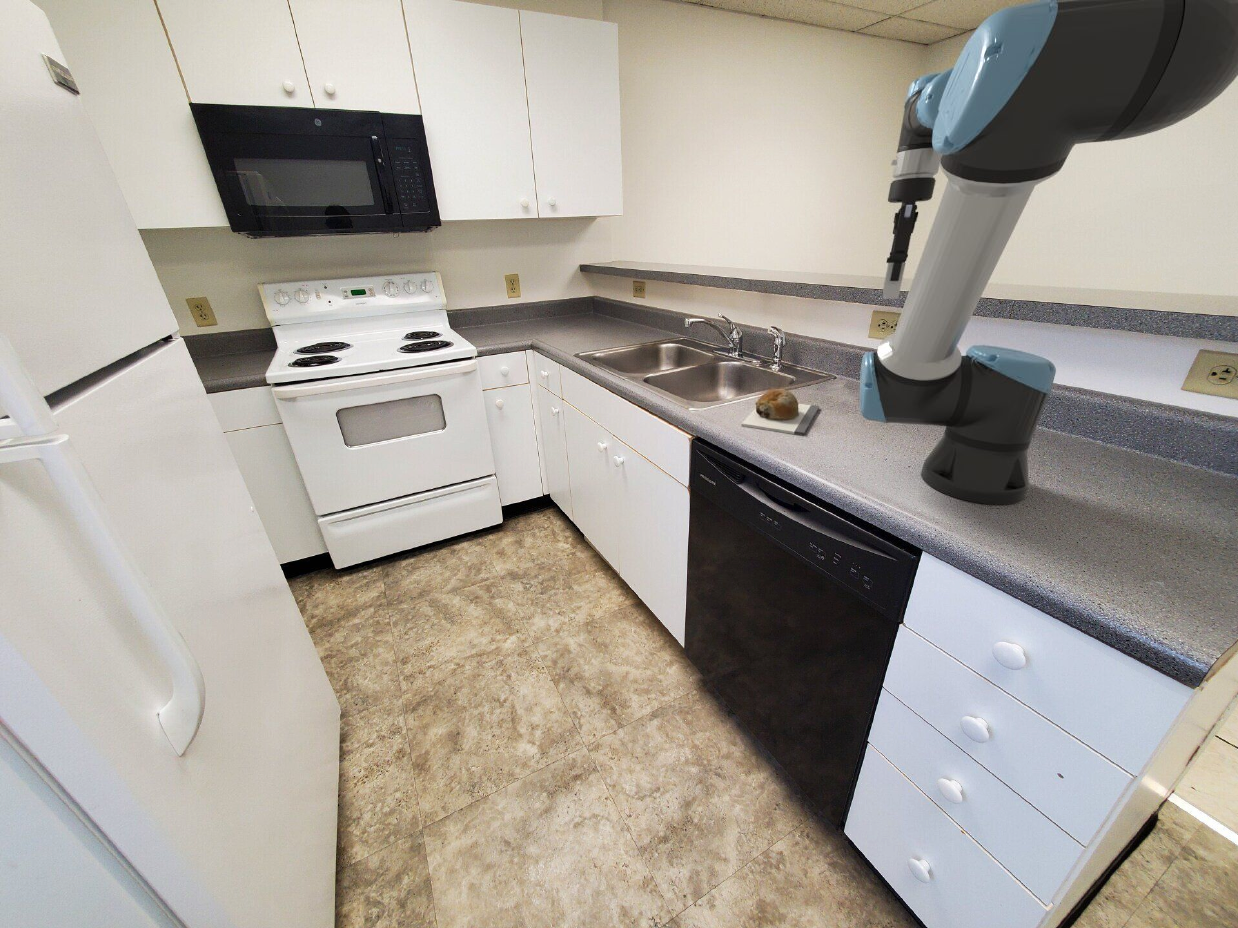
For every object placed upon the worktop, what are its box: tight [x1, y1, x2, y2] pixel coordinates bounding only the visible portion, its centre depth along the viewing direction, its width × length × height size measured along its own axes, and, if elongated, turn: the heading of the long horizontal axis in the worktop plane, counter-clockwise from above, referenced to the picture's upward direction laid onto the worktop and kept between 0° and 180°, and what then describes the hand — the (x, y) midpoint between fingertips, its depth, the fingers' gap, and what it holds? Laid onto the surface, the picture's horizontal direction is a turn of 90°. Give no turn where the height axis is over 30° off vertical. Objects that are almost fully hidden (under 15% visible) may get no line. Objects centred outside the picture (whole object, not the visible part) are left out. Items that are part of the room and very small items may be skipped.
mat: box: [741, 403, 820, 437], centre depth 116 cm, size 20×14×1 cm
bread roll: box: [755, 388, 800, 421], centre depth 115 cm, size 10×10×8 cm
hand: (889, 295), depth 100 cm, fingers open, 13 cm apart
